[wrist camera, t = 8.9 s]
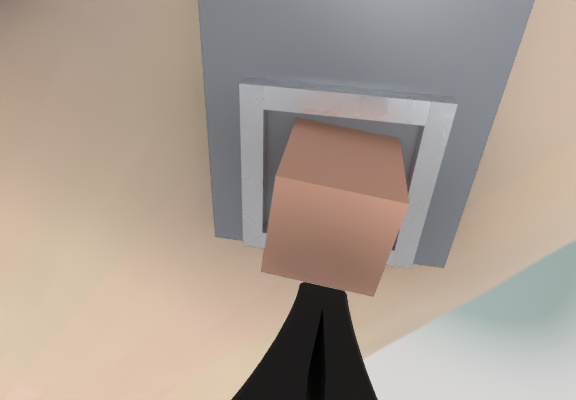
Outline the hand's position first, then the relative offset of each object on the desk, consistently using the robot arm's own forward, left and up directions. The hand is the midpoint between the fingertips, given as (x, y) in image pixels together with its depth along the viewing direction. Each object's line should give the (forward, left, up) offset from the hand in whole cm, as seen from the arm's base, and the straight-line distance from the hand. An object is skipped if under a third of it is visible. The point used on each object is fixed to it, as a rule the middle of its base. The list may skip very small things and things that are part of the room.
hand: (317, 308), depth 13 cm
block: (0, 0, -8) cm, 8 cm away
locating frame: (0, 0, -8) cm, 8 cm away
